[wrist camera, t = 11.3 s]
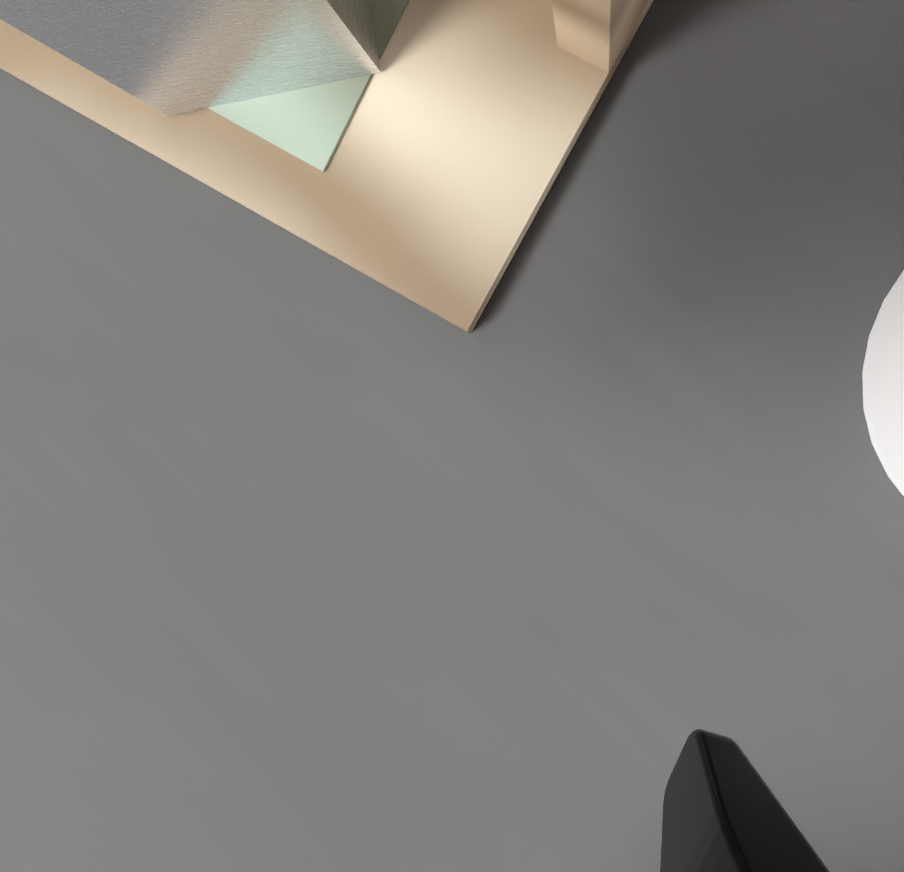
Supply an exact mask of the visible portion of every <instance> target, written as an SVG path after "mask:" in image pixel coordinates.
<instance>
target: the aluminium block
mask: <svg viewBox="0 0 904 872" xmlns="http://www.w3.org/2000/svg"><path fill="white" fill-rule="evenodd" d="M0 19H1V20H3V21H4V22H6V23H8V24H9V25H11V26H13V27H15V28H16V29H18V30H20V31H22V32H23V33H25V34H27V35H29V36H30V37H32V38H34V39H36V40H37V41H39V42H41V43H43V44H44V45H46V46H48V47H50V48H51V49H53V50H55V51H57V52H58V53H60V54H62V55H63V56H65V57H67V58H69V59H70V60H72V61H74V62H76V63H77V64H79V65H81V66H83V67H84V68H86V69H88V70H90V71H91V72H93V73H95V74H97V75H98V76H100V77H102V78H104V79H105V80H107V81H109V82H110V83H112V84H114V85H116V86H117V87H119V88H121V89H123V90H124V91H126V92H128V93H130V94H131V95H133V96H135V97H137V98H138V99H140V100H142V101H144V102H145V103H147V104H149V105H151V106H152V107H154V108H156V109H157V110H159V111H161V112H163V113H164V114H166V115H168V116H171V115H176V114H181V113H186V112H191V111H196V110H201V109H205V108H210V107H215V106H220V105H225V104H230V103H234V102H239V101H244V100H249V99H254V98H259V97H264V96H268V95H273V94H278V93H283V92H288V91H293V90H298V89H302V88H307V87H312V86H317V85H322V84H327V83H332V82H336V81H341V80H346V79H351V78H356V77H361V76H366V75H370V74H375V73H380V72H381V70H380V62H379V54H378V47H377V39H376V31H375V23H374V15H373V8H372V0H0Z"/></svg>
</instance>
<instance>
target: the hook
mask: <svg viewBox="0 0 904 872" xmlns="http://www.w3.org/2000/svg"><path fill="white" fill-rule="evenodd" d="M862 377H863V409H864V413H865V417H866V421H867V425H868V429H869V433H870V438H871V442H872V445H873V447H874V449H875V451H876V453H877V455H878V457H879V459H880V461H881V463H882V465H883V467H884V469H885V471H886V473H887V475H888V477H889V478H890V479H891V481H892V482H893V483H894V484H895V486H896V487H897V488H898V490H899V491H900V492H901V493H902V495H903V496H904V270H903V272H902V273H901V275H900V276H899V278H898V279H897V281H896V282H895V284H894V285H893V287H892V289H891V290H890V292H889V293H888V295H887V296H886V298H885V299H884V301H883V303H882V305H881V308H880V310H879V313H878V315H877V318H876V320H875V323H874V325H873V328H872V330H871V333H870V335H869V339H868V344H867V350H866V355H865V361H864V366H863V372H862Z"/></svg>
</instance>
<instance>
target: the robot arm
mask: <svg viewBox="0 0 904 872" xmlns="http://www.w3.org/2000/svg"><path fill="white" fill-rule="evenodd" d="M660 872H829V870H828V869H827V868H826V866H825V865H824V863H823V862H822V861H821V859H820V858H819V857H818V855H817V854H816V852H815V851H814V850H813V848H812V847H811V845H810V844H809V843H808V841H807V840H806V839H805V837H804V836H803V834H802V833H801V832H800V830H799V829H798V827H797V826H796V825H795V823H794V822H793V821H792V819H791V818H790V816H789V815H788V814H787V812H786V811H785V810H784V808H783V807H782V805H781V804H780V803H779V801H778V800H777V798H776V797H775V796H774V794H773V793H772V792H771V790H770V789H769V787H768V786H767V785H766V783H765V782H764V781H763V779H762V778H761V776H760V775H759V774H758V772H757V771H756V769H755V768H754V767H753V765H752V764H751V763H750V761H749V760H748V758H747V757H746V756H745V754H744V753H743V752H742V750H741V749H740V747H739V746H738V745H737V744H736V743H735V742H734V741H733V740H732V739H730V738H728V737H725V736H722V735H718V734H715V733H711V732H708V731H704V730H700V729H698V730H695V731H693V732H692V733H691V734H690V735H689V737H688V738H687V740H686V743H685V745H684V747H683V749H682V751H681V754H680V756H679V758H678V760H677V762H676V765H675V767H674V769H673V771H672V773H671V776H670V778H669V780H668V783H667V786H666V790H665V795H664V803H663V823H662V846H661V868H660Z"/></svg>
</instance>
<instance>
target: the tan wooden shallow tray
mask: <svg viewBox="0 0 904 872" xmlns="http://www.w3.org/2000/svg"><path fill="white" fill-rule="evenodd" d="M653 1H654V0H372V8H373V15H374V23H375V31H376V39H377V47H378V54H379V62H380V70H381V72H380V73H375V74H370V75H366V76H361V77H356V78H351V79H346V80H341V81H336V82H332V83H327V84H322V85H317V86H312V87H307V88H302V89H298V90H293V91H288V92H283V93H278V94H273V95H268V96H264V97H259V98H254V99H249V100H244V101H239V102H234V103H230V104H225V105H220V106H215V107H210V108H205V109H201V110H196V111H191V112H186V113H181V114H176V115H171V116H168V115H166V114H164V113H163V112H161V111H159V110H157V109H156V108H154V107H152V106H151V105H149V104H147V103H145V102H144V101H142V100H140V99H138V98H137V97H135V96H133V95H131V94H130V93H128V92H126V91H124V90H123V89H121V88H119V87H117V86H116V85H114V84H112V83H110V82H109V81H107V80H105V79H104V78H102V77H100V76H98V75H97V74H95V73H93V72H91V71H90V70H88V69H86V68H84V67H83V66H81V65H79V64H77V63H76V62H74V61H72V60H70V59H69V58H67V57H65V56H63V55H62V54H60V53H58V52H57V51H55V50H53V49H51V48H50V47H48V46H46V45H44V44H43V43H41V42H39V41H37V40H36V39H34V38H32V37H30V36H29V35H27V34H25V33H23V32H22V31H20V30H18V29H16V28H15V27H13V26H11V25H9V24H8V23H6V22H4V21H3V20H1V19H0V68H1V69H3V70H5V71H7V72H8V73H10V74H12V75H14V76H15V77H17V78H19V79H21V80H22V81H24V82H26V83H28V84H30V85H31V86H33V87H35V88H37V89H38V90H40V91H42V92H44V93H45V94H47V95H49V96H51V97H53V98H54V99H56V100H58V101H60V102H61V103H63V104H65V105H67V106H68V107H70V108H72V109H74V110H76V111H77V112H79V113H81V114H83V115H84V116H86V117H88V118H90V119H91V120H93V121H95V122H97V123H99V124H100V125H102V126H104V127H106V128H107V129H109V130H111V131H113V132H114V133H116V134H118V135H120V136H122V137H123V138H125V139H127V140H129V141H130V142H132V143H134V144H136V145H137V146H139V147H141V148H143V149H145V150H146V151H148V152H150V153H152V154H153V155H155V156H157V157H159V158H160V159H162V160H164V161H166V162H168V163H169V164H171V165H173V166H175V167H176V168H178V169H180V170H182V171H184V172H185V173H187V174H189V175H191V176H192V177H194V178H196V179H198V180H199V181H201V182H203V183H205V184H207V185H208V186H210V187H212V188H214V189H215V190H217V191H219V192H221V193H222V194H224V195H226V196H228V197H230V198H231V199H233V200H235V201H237V202H238V203H240V204H242V205H244V206H245V207H247V208H249V209H251V210H253V211H254V212H256V213H258V214H260V215H261V216H263V217H265V218H267V219H268V220H270V221H272V222H274V223H276V224H277V225H279V226H281V227H283V228H284V229H286V230H288V231H290V232H291V233H293V234H295V235H297V236H299V237H300V238H302V239H304V240H306V241H307V242H309V243H311V244H313V245H314V246H316V247H318V248H320V249H322V250H323V251H325V252H327V253H329V254H330V255H332V256H334V257H336V258H337V259H339V260H341V261H343V262H345V263H346V264H348V265H350V266H352V267H353V268H355V269H357V270H359V271H361V272H362V273H364V274H366V275H368V276H369V277H371V278H373V279H375V280H376V281H378V282H380V283H382V284H384V285H385V286H387V287H389V288H391V289H392V290H394V291H396V292H398V293H399V294H401V295H403V296H405V297H407V298H408V299H410V300H412V301H414V302H415V303H417V304H419V305H421V306H422V307H424V308H426V309H428V310H430V311H431V312H433V313H435V314H437V315H438V316H440V317H442V318H444V319H445V320H447V321H449V322H451V323H453V324H454V325H456V326H458V327H460V328H461V329H463V330H465V331H467V332H472V330H473V329H474V327H475V325H476V323H477V321H478V320H479V318H480V316H481V314H482V312H483V310H484V309H485V307H486V305H487V303H488V301H489V299H490V298H491V296H492V294H493V292H494V290H495V289H496V287H497V285H498V283H499V281H500V279H501V278H502V276H503V274H504V272H505V270H506V269H507V267H508V265H509V263H510V261H511V259H512V258H513V256H514V254H515V252H516V250H517V248H518V247H519V245H520V243H521V241H522V239H523V238H524V236H525V234H526V232H527V230H528V228H529V227H530V225H531V223H532V221H533V219H534V217H535V216H536V214H537V212H538V210H539V208H540V207H541V205H542V203H543V201H544V199H545V197H546V196H547V194H548V192H549V190H550V188H551V187H552V185H553V183H554V181H555V179H556V177H557V176H558V174H559V172H560V170H561V168H562V166H563V165H564V163H565V161H566V159H567V157H568V156H569V154H570V152H571V150H572V148H573V146H574V145H575V143H576V141H577V139H578V137H579V136H580V134H581V132H582V130H583V128H584V126H585V125H586V123H587V121H588V119H589V117H590V115H591V114H592V112H593V110H594V108H595V106H596V105H597V103H598V101H599V99H600V97H601V95H602V94H603V92H604V90H605V88H606V86H607V84H608V83H609V81H610V79H611V77H612V75H613V74H614V72H615V70H616V68H617V66H618V64H619V63H620V61H621V59H622V57H623V55H624V54H625V52H626V50H627V48H628V46H629V44H630V43H631V41H632V39H633V37H634V35H635V33H636V32H637V30H638V28H639V26H640V24H641V23H642V21H643V19H644V17H645V15H646V13H647V12H648V10H649V8H650V6H651V4H652V2H653Z"/></svg>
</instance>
